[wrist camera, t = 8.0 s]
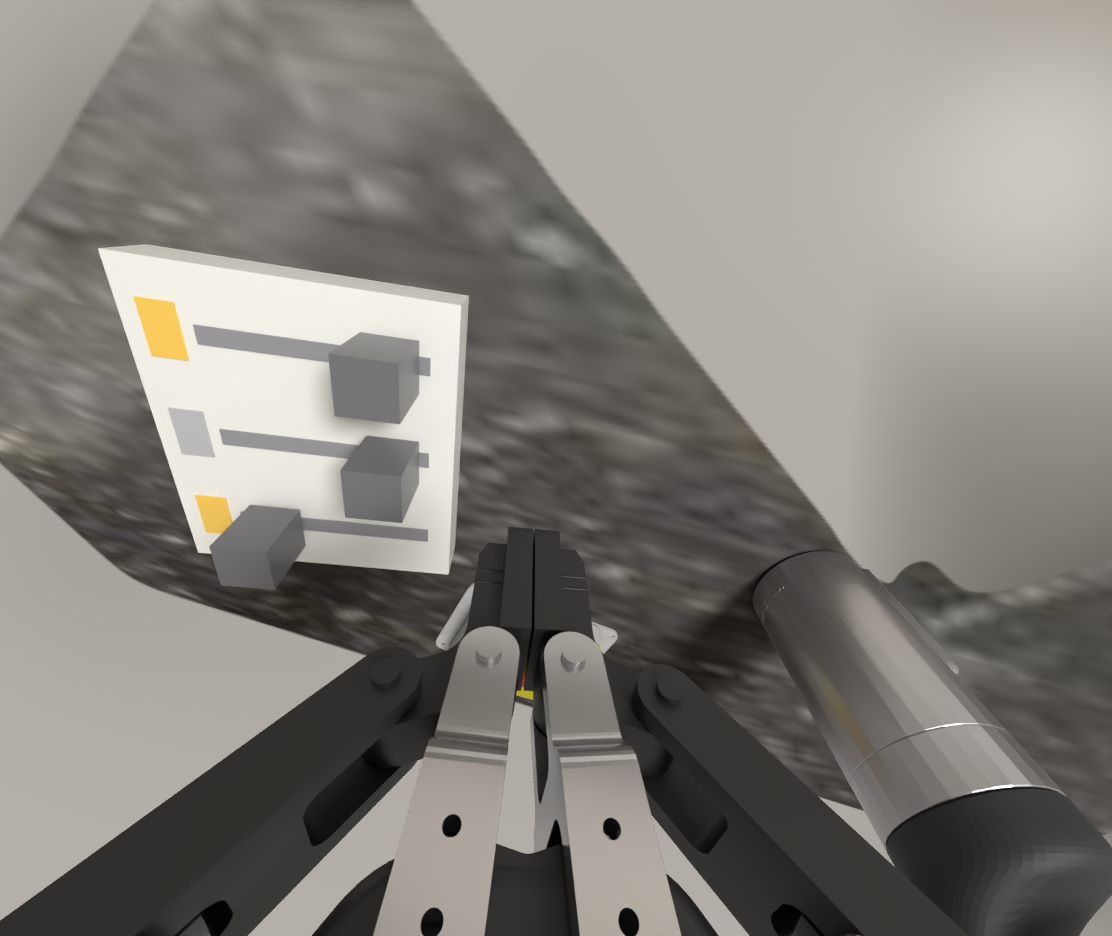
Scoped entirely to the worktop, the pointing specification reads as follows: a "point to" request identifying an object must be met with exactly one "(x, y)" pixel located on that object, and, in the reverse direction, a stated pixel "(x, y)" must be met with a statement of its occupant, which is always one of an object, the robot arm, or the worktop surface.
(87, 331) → the worktop surface
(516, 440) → the worktop surface
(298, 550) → the switch
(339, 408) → the switch
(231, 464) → the switch panel
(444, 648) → the emergency button
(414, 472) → the switch
